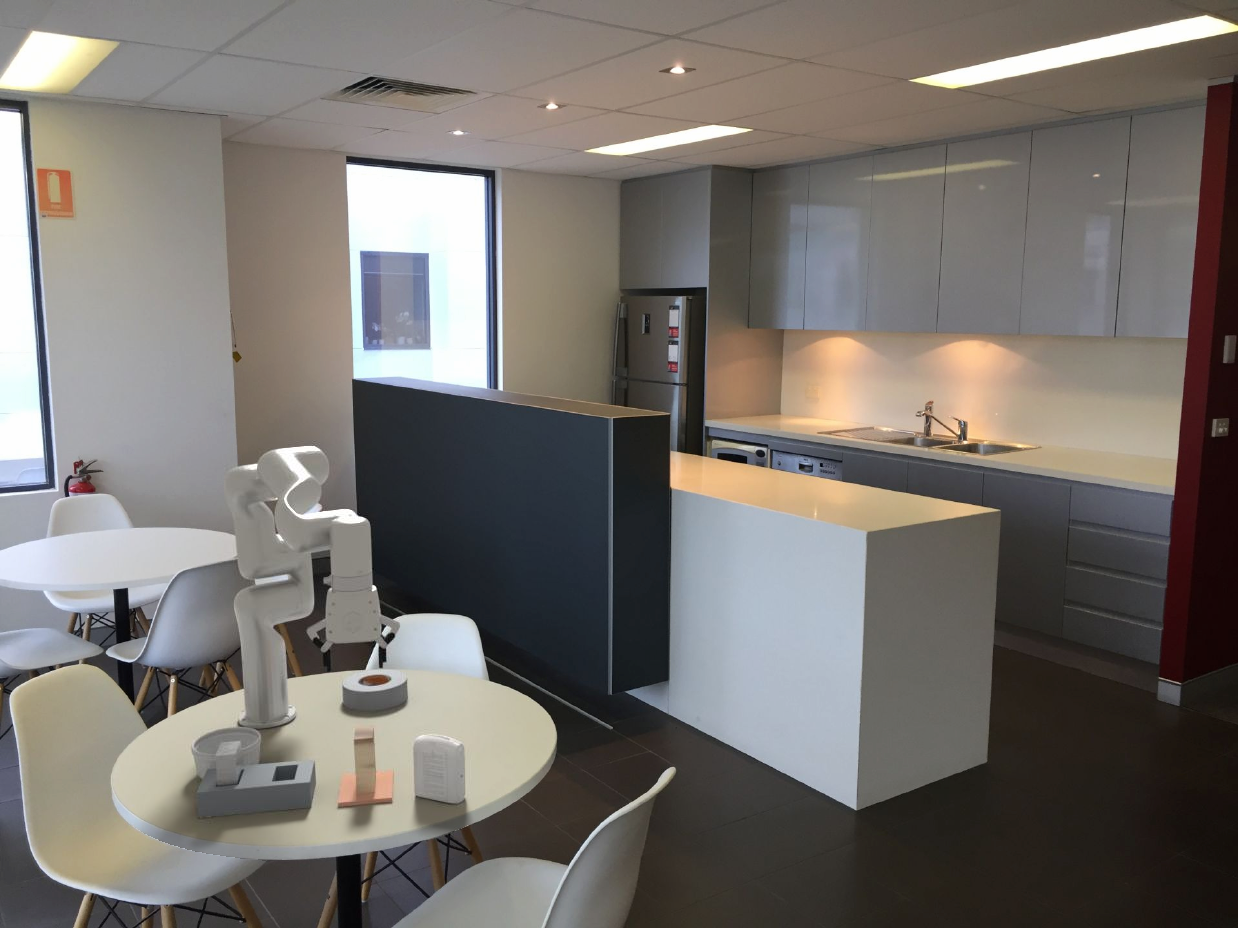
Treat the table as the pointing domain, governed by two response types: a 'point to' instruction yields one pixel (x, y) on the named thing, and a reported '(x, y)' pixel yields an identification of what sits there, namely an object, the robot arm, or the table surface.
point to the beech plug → (365, 759)
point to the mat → (380, 795)
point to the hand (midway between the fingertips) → (355, 667)
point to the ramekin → (210, 742)
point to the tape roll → (375, 690)
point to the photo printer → (439, 768)
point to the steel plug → (229, 763)
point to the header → (259, 789)
